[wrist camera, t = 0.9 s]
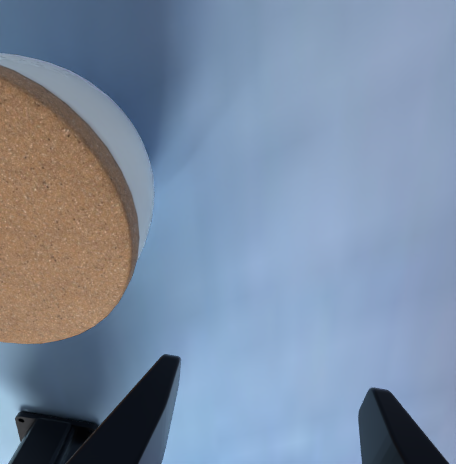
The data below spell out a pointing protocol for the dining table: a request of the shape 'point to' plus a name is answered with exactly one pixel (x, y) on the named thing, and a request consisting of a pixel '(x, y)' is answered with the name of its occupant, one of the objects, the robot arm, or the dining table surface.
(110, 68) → the dining table surface
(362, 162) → the dining table surface
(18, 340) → the lidded jar
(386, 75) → the dining table surface
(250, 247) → the dining table surface
